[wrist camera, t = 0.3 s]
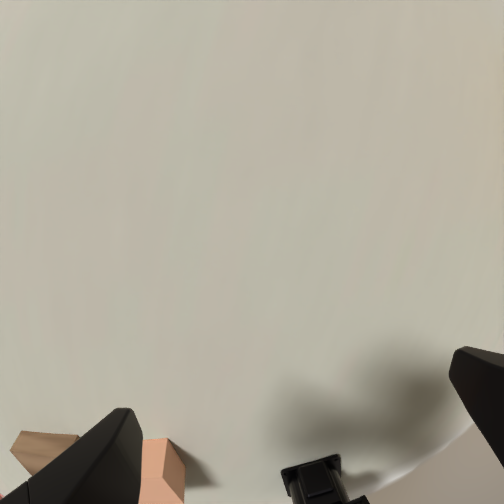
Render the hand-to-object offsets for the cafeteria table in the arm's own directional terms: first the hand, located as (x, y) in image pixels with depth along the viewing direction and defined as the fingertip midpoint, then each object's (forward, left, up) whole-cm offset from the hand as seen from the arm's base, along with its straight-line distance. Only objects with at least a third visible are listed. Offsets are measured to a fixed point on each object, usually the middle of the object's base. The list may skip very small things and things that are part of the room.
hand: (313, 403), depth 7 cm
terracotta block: (-17, +14, -14) cm, 26 cm away
